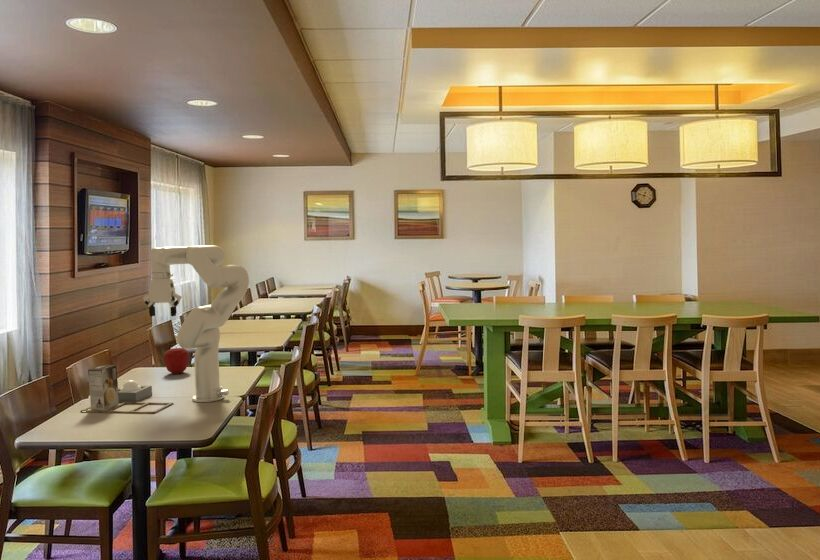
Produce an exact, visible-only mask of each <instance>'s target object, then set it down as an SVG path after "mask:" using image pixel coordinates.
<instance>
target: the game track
mask: <svg viewBox="0 0 820 560" xmlns="http://www.w3.org/2000/svg"><path fill="white" fill-rule="evenodd" d="M148 404H149V405H154V404H164V405H162V407H159V408H158V409H155V410H153V411H151V410H150V411H149V410H148V411H147V410H140V409H143V408H144V406H145V407H147V406H148ZM172 404H173V405H174V402H163V401H162V402H155V401H153V402H151V401H150V402H149V401H147V402H146V401H138V402H119V404H117V405H115V406H113V407H110V408H108V409H106V410H91V406H89V407H87V408H83V409H81V410H80V412H81V411H86V412H85V413H94V412H106V413H107V414H144V413H147V414H148V415H150V414H151V415H153V414H157V413H159V412H161V411H163V410H164V409H167V408H169V407H170V406H172ZM125 405H139V406H137V407H134V408H133V409H131V410H117V409H118V408H121V407H122V406H125ZM146 405H147V406H146ZM142 407H143V408H142ZM88 409H89V410H88ZM111 410H112V411H111ZM106 413H105V414H106Z"/></svg>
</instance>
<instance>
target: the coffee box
mask: <svg viewBox="0 0 820 560" xmlns="http://www.w3.org/2000/svg"><path fill="white" fill-rule="evenodd" d="M117 369H118V368H117V364H102V365H98V366H96V367H93V368H89V369H88V370H87V371H88V382H89V383H88V387H89V400H90V402H89V403H90V407H91V410H106V409H108V408H110V407H113V406H115V405H117V404H119V396H118V388H119V384H118V370H117Z"/></svg>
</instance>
